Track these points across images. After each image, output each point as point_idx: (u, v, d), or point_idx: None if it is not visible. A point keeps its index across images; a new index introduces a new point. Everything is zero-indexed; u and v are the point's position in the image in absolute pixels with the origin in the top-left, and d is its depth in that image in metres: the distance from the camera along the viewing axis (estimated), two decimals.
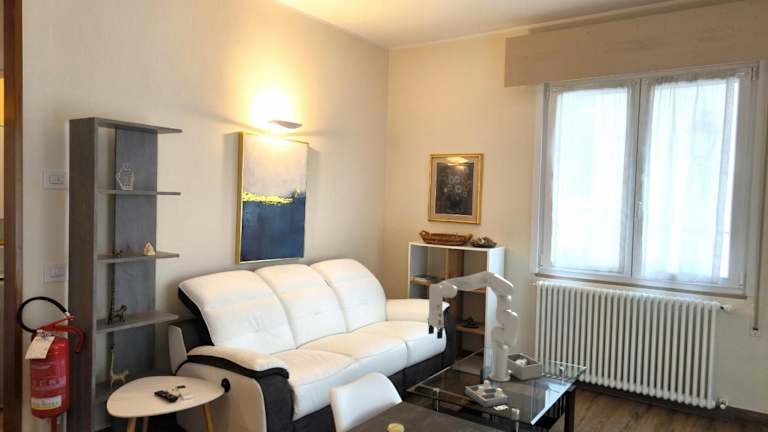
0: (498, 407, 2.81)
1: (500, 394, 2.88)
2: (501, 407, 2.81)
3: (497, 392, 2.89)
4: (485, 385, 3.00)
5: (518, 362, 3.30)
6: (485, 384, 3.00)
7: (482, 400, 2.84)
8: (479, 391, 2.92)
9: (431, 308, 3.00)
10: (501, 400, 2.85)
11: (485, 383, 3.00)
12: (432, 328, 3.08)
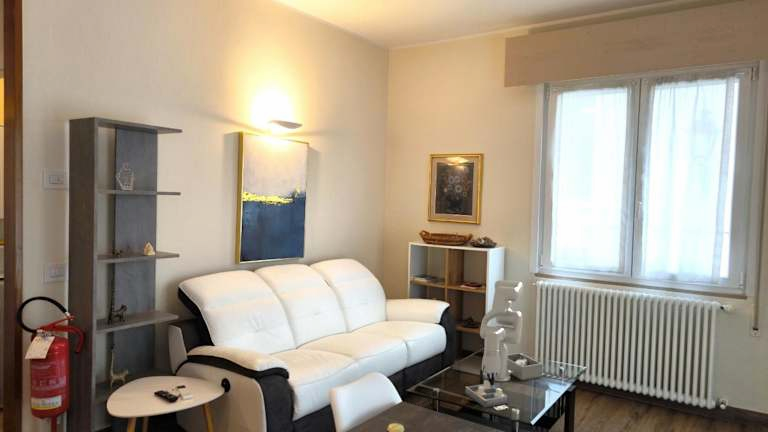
0: (498, 407, 2.81)
1: (500, 394, 2.88)
2: (501, 407, 2.81)
3: (497, 392, 2.89)
4: (485, 385, 3.00)
5: (518, 362, 3.30)
6: (485, 384, 3.00)
7: (482, 400, 2.84)
8: (479, 391, 2.92)
9: (497, 355, 2.98)
10: (501, 400, 2.85)
11: (485, 383, 3.00)
12: None
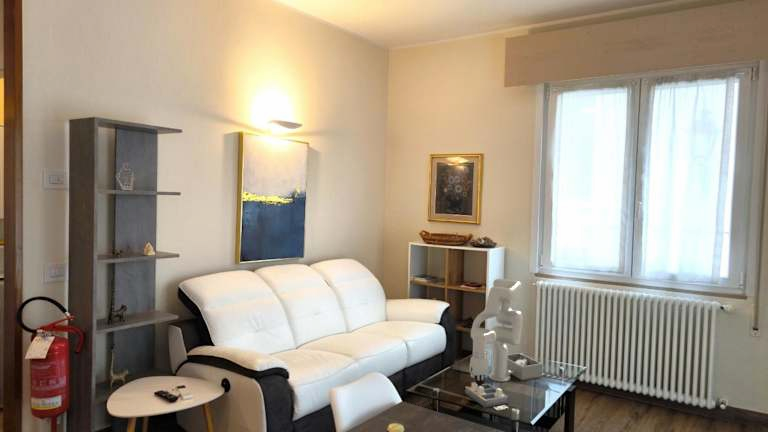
0: (498, 407, 2.81)
1: (500, 394, 2.88)
2: (501, 407, 2.81)
3: (497, 392, 2.89)
4: (473, 387, 2.97)
5: (518, 362, 3.30)
6: (473, 386, 2.97)
7: (482, 400, 2.84)
8: (479, 391, 2.92)
9: (485, 357, 2.94)
10: (501, 400, 2.85)
11: (473, 385, 2.97)
12: None
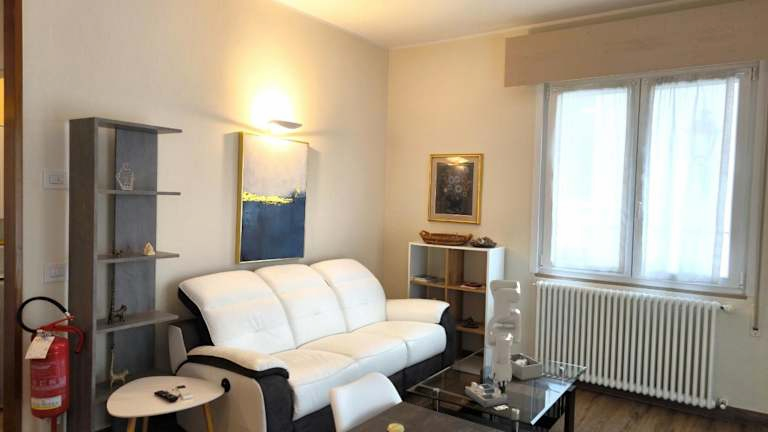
0: (498, 407, 2.81)
1: (498, 394, 2.88)
2: (501, 407, 2.81)
3: (495, 392, 2.89)
4: (473, 387, 2.97)
5: (518, 362, 3.30)
6: (473, 386, 2.97)
7: (482, 400, 2.84)
8: (479, 391, 2.92)
9: (508, 362, 2.86)
10: (501, 400, 2.85)
11: (473, 385, 2.97)
12: None
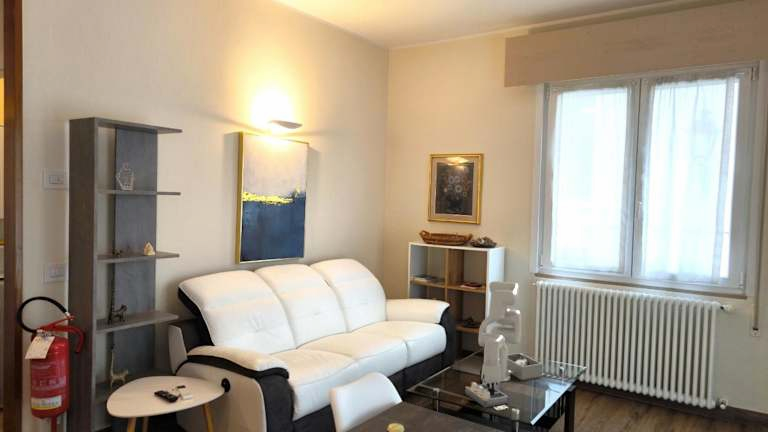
0: (498, 407, 2.81)
1: (487, 396, 2.85)
2: (501, 407, 2.81)
3: (484, 394, 2.86)
4: (473, 387, 2.97)
5: (518, 362, 3.30)
6: (473, 386, 2.97)
7: (482, 400, 2.84)
8: (479, 391, 2.92)
9: (497, 364, 2.83)
10: (501, 400, 2.85)
11: (473, 385, 2.97)
12: None
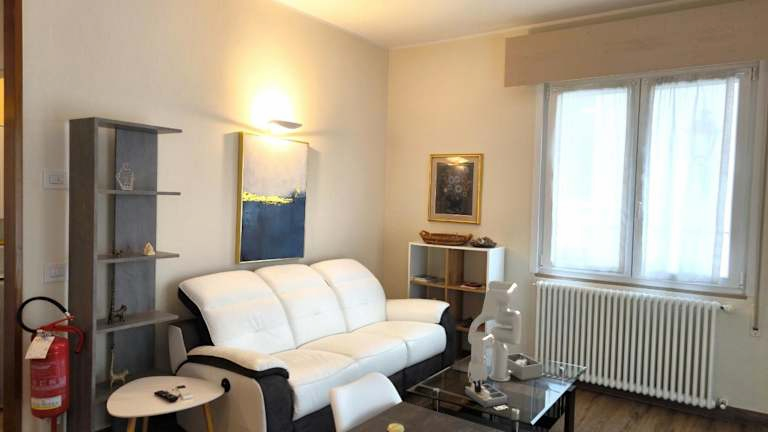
0: (498, 407, 2.81)
1: (487, 396, 2.85)
2: (501, 407, 2.81)
3: (484, 394, 2.86)
4: (473, 387, 2.97)
5: (518, 362, 3.30)
6: (473, 386, 2.97)
7: (482, 400, 2.84)
8: (480, 391, 2.92)
9: (483, 361, 2.87)
10: (501, 400, 2.85)
11: (473, 385, 2.97)
12: None
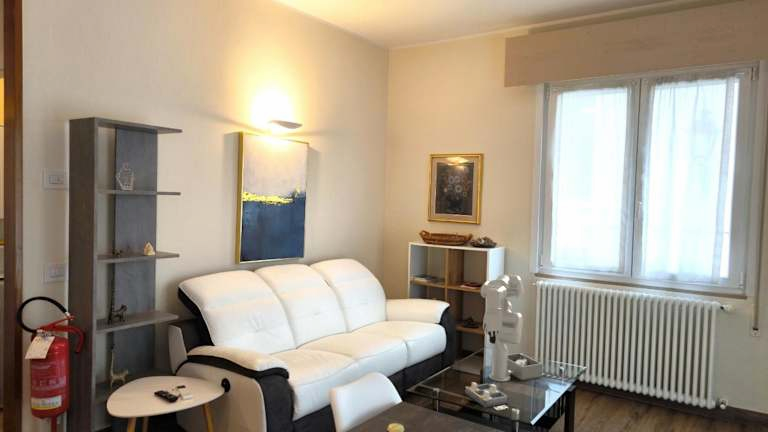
0: (498, 407, 2.81)
1: (487, 396, 2.85)
2: (501, 407, 2.81)
3: (484, 394, 2.86)
4: (473, 387, 2.97)
5: (518, 362, 3.30)
6: (473, 386, 2.97)
7: (482, 400, 2.84)
8: (491, 389, 2.95)
9: (498, 312, 2.94)
10: (501, 400, 2.85)
11: (473, 385, 2.97)
12: None
